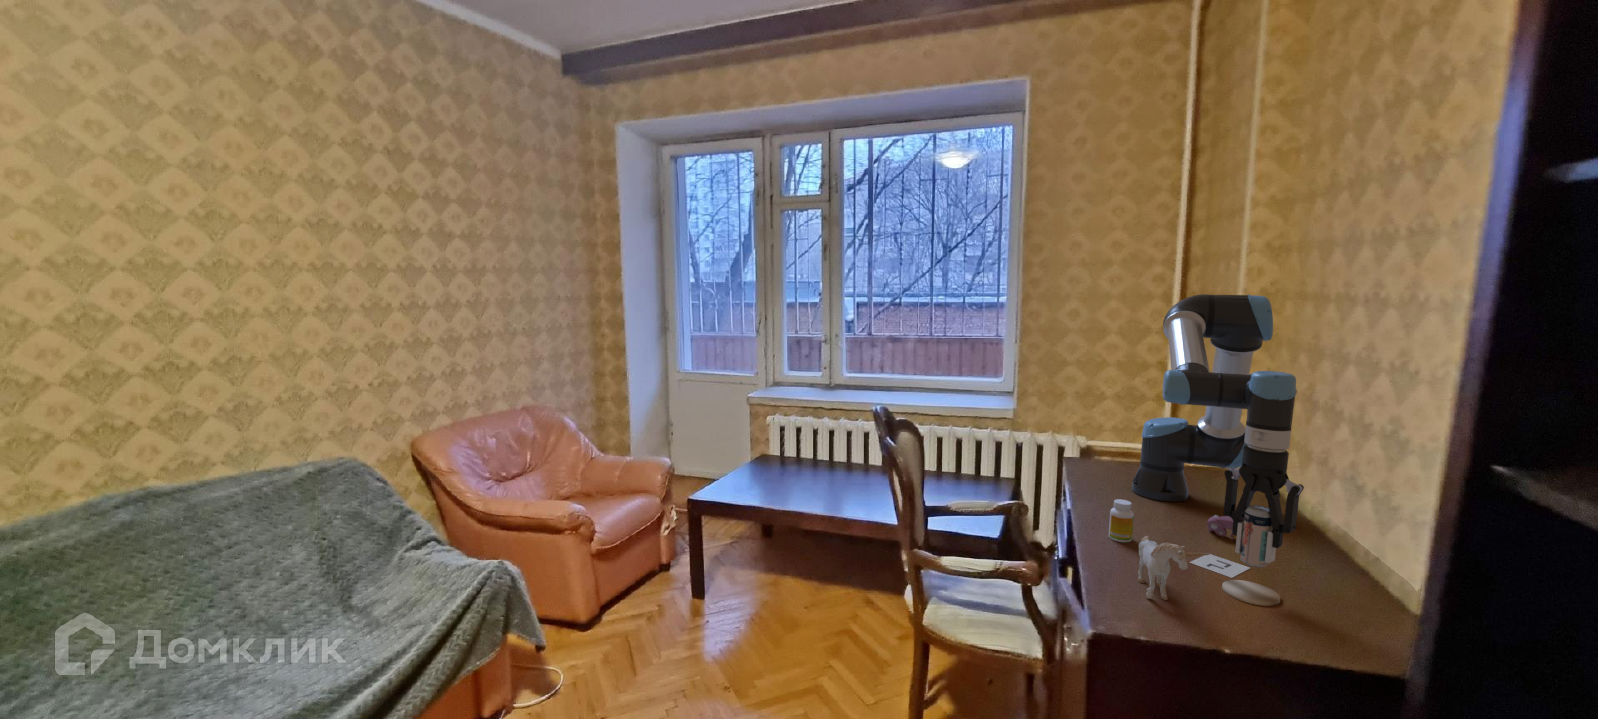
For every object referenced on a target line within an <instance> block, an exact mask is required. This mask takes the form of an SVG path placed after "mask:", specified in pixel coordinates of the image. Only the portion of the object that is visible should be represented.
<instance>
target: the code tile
mask: <svg viewBox="0 0 1598 719" xmlns="http://www.w3.org/2000/svg"><path fill="white" fill-rule="evenodd" d="M1209 554H1210V555H1203V556H1202V555H1201V556H1199V557H1198V558H1195V559H1194V560H1193V559H1192V560H1191V561H1189V564H1192V565H1194V566H1198V567H1201V568H1203V569H1206V570H1209V571H1212V572H1215V573H1217V574H1218V575H1219V574H1220V575H1223V576H1225V577H1228V578H1230V579H1234V578H1235V577H1237V576H1238V575H1240V574H1242V573H1244V572H1246V571H1248V570H1251V566H1248V565H1247V566H1246V565H1243V564H1241V563H1238V562H1234V561H1231V560H1228V559H1226V558H1223V557H1219V556H1216V555H1213V554H1212V553H1209Z"/></svg>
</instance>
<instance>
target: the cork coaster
mask: <svg viewBox="0 0 1598 719" xmlns="http://www.w3.org/2000/svg"><path fill="white" fill-rule="evenodd" d="M1222 582H1223V583H1222V586H1221V588H1222V591H1223V592H1224V593H1225V594H1227V595H1228V596H1230V597H1231V598H1234V599H1235V600H1238V601H1241V602H1244V603H1247V604H1251V605H1255V606H1261V607H1273V606H1277V605H1279V604H1280V603H1281V596H1280V595H1279V594H1278V593H1277V591H1275V590H1273V589H1271V588H1270V587H1267V586H1265V585H1262V584H1260V583H1256V582H1253V581H1250V580H1249V581H1248V580H1242V579H1228V580H1225V581H1222Z"/></svg>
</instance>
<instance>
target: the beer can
mask: <svg viewBox="0 0 1598 719" xmlns="http://www.w3.org/2000/svg"><path fill="white" fill-rule="evenodd" d="M1243 521H1244V526H1243V536H1242V546H1241V553H1240V558H1239V559H1240V561H1241V562H1243V563H1244V564H1245V565H1247V566H1248V567H1254V568H1259V569H1260V568H1264V567H1268V566H1269V563H1266V562H1265V555H1266V545H1267V536H1268V531H1270V530H1272V523H1271V518H1270V512H1269V507H1265V506H1263V505H1255V504H1252V505H1251V504H1250V505H1249V506H1248V508H1247V509H1246V510H1245V517H1244V519H1243Z"/></svg>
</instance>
